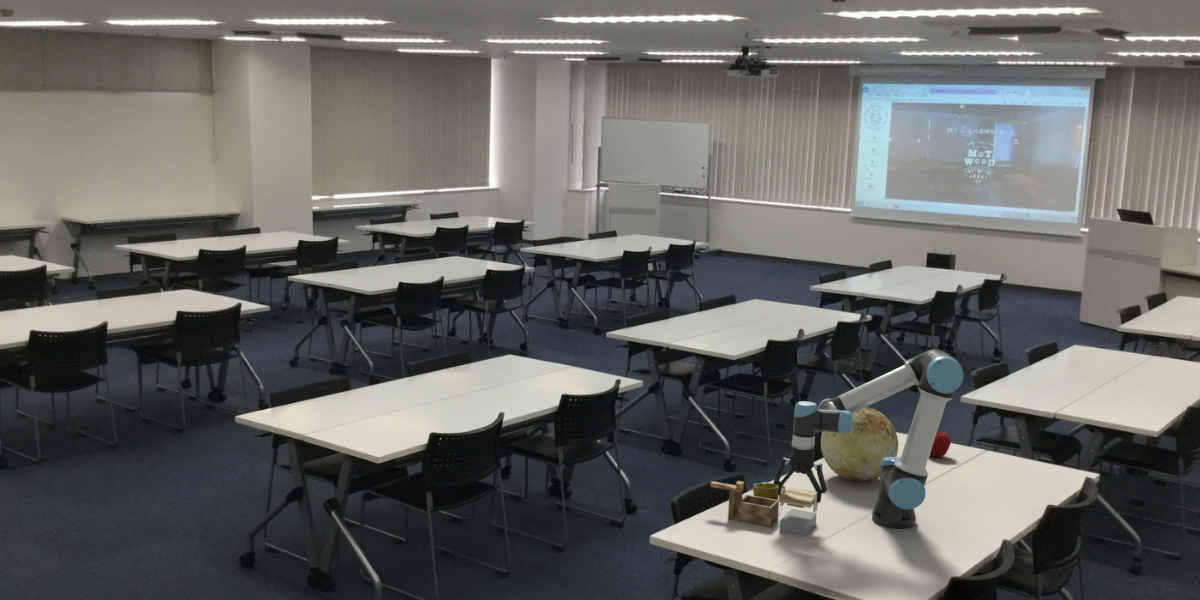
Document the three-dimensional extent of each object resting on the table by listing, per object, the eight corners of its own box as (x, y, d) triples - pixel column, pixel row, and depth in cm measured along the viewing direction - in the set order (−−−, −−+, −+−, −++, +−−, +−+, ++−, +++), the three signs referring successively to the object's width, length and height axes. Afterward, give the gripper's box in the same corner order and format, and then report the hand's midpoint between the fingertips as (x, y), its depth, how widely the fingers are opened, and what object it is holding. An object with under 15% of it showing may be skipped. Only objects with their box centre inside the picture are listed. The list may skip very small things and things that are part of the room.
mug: (782, 508, 374) (775, 480, 375) (754, 514, 377) (748, 486, 378) (785, 503, 386) (778, 477, 387) (758, 509, 388) (752, 483, 390)
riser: (815, 524, 365) (816, 513, 364) (805, 536, 352) (805, 525, 352) (790, 519, 369) (791, 508, 368) (779, 531, 356) (780, 520, 356)
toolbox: (777, 519, 368) (779, 488, 367) (770, 527, 360) (772, 495, 359) (736, 511, 375) (737, 480, 373) (727, 519, 367) (729, 487, 365)
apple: (924, 459, 448) (926, 432, 446) (921, 452, 458) (923, 426, 456) (951, 461, 446) (953, 434, 444) (947, 454, 456) (949, 428, 455)
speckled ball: (904, 478, 420) (910, 406, 416) (881, 497, 395) (887, 421, 391) (833, 464, 436) (838, 394, 432) (807, 482, 411) (812, 408, 407)
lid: (810, 510, 352) (810, 502, 351) (778, 504, 356) (779, 496, 356) (819, 500, 362) (819, 492, 362) (788, 494, 367) (788, 486, 367)
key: (743, 490, 369) (744, 482, 369) (741, 492, 367) (741, 484, 366) (713, 484, 374) (713, 476, 374) (710, 487, 372) (710, 478, 371)
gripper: (839, 449, 355) (834, 511, 358) (773, 438, 365) (769, 498, 368) (834, 455, 348) (829, 517, 351) (766, 443, 358) (762, 504, 361)
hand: (798, 507), depth 360 cm, fingers closed on lid, 11 cm apart
